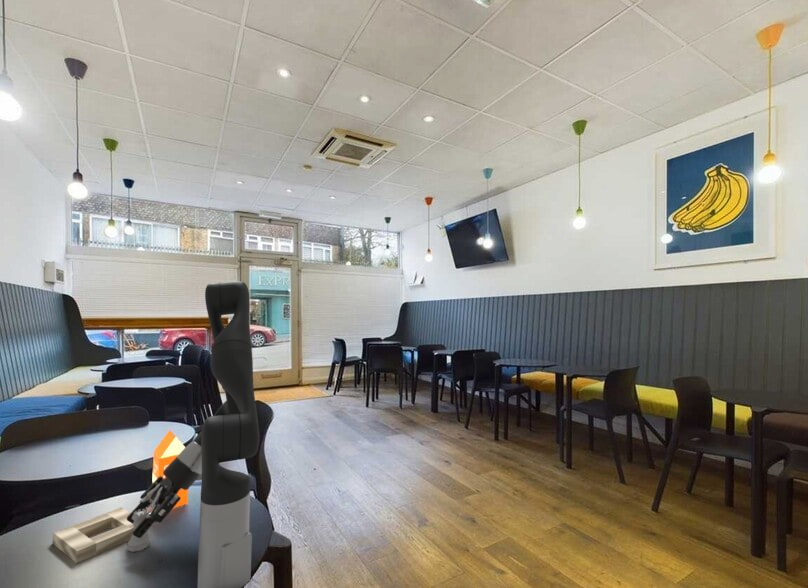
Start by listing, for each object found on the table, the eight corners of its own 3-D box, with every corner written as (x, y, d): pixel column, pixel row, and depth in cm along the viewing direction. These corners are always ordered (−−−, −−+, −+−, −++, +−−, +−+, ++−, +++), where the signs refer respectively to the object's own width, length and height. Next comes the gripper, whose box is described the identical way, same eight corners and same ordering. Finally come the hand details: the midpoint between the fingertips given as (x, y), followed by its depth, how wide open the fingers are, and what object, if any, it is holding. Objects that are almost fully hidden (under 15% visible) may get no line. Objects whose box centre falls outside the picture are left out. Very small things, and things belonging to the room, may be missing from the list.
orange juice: (156, 513, 104) (159, 438, 105) (150, 502, 110) (153, 431, 112) (188, 504, 109) (191, 433, 110) (181, 493, 116) (184, 426, 117)
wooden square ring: (146, 532, 95) (147, 522, 95) (76, 563, 83) (76, 551, 83) (120, 517, 102) (121, 507, 102) (52, 543, 90) (53, 532, 90)
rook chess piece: (138, 554, 86) (140, 517, 87) (121, 551, 87) (123, 515, 87) (154, 542, 90) (156, 507, 91) (139, 540, 91) (140, 506, 92)
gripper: (171, 449, 100) (114, 509, 92) (186, 464, 90) (123, 533, 81) (192, 464, 104) (139, 524, 95) (209, 480, 93) (151, 549, 84)
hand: (132, 528), depth 88 cm, fingers open, 8 cm apart
